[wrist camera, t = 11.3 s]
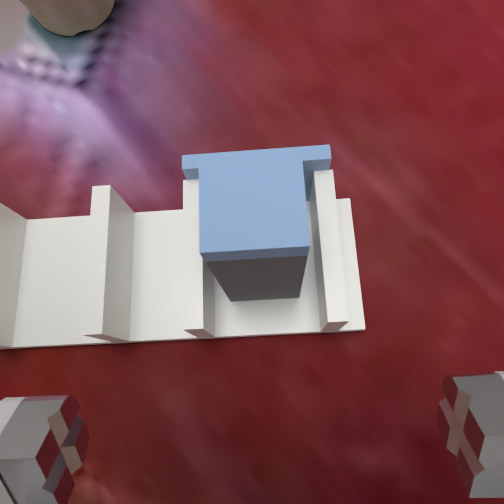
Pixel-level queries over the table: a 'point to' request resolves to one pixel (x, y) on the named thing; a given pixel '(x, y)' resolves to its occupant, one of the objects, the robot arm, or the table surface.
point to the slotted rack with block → (165, 273)
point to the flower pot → (69, 14)
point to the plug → (254, 222)
